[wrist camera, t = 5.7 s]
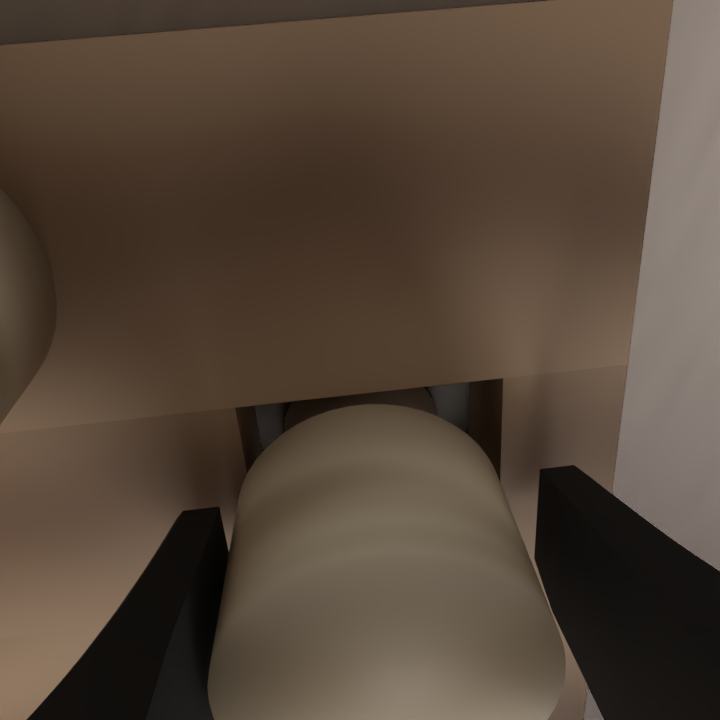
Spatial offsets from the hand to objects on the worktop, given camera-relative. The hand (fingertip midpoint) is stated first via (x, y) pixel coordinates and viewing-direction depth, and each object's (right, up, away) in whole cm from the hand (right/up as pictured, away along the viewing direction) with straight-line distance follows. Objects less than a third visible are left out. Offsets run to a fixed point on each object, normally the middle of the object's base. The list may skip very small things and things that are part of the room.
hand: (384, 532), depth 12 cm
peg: (0, +1, +3) cm, 4 cm away
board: (-3, -1, +4) cm, 5 cm away
